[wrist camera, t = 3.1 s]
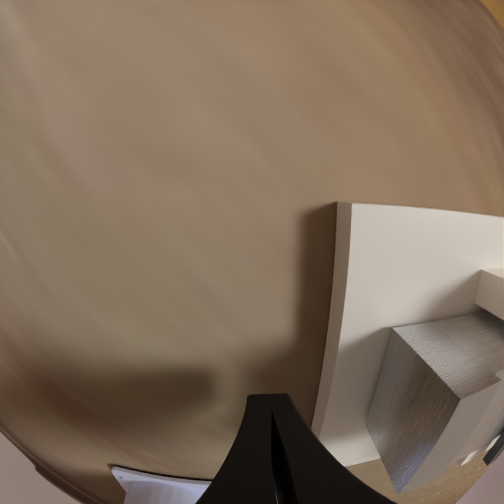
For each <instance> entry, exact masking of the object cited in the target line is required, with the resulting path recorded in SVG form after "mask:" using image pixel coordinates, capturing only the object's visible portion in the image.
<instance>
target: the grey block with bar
mask: <svg viewBox="0 0 504 504" xmlns="http://www.w3.org/2000/svg"><path fill="white" fill-rule="evenodd" d="M365 425H366V428H367V430H368V432H369V434H370V436H371V438H372V440H373V442H374V444H375V446H376V449H377V451H378V453H379V455H380V457H381V459H382V461H383V464H384V466H385V468H386V470H387V472H388V474H389V477H390V479H391V481H392V483H393V485H394V488H395V490H396V492H397V494H398V495H400V494H402V493H405V492H408V491H410V490H413V489H415V488H418V487H420V486H422V485H425V484H427V483H429V482H431V481H434V480H436V479H438V478H439V477H440V476H441V475H442V474H443V472H444V471H445V470H446V469H447V467H448V466H449V465H450V464H452V463H454V462H456V461H458V460H460V459H462V458H464V457H466V456H467V455H469V454H471V453H473V452H474V451H476V450H478V449H479V448H481V447H483V446H484V445H486V444H487V443H489V442H490V441H492V440H494V439H495V438H497V437H498V436H499V435H500V436H499V438H498V439H497V441H496V442H495V444H494V445H493V446H492V448H491V449H490V450H489V452H488V453H487V454H486V455H485V457H484V458H483V460H484V462H485V463H486V465H489V464H490V463H492V462H493V461H495V460H496V459H497V458H498V456H499V455H500V454H501V453H502V451H503V450H504V320H502V319H501V318H499V317H497V316H496V315H494V314H492V313H491V312H489V311H483V312H479V313H475V314H470V315H465V316H460V317H455V318H450V319H445V320H439V321H433V322H428V323H421V324H415V325H408V326H401V327H394V328H392V330H391V335H390V339H389V344H388V348H387V352H386V356H385V360H384V363H383V367H382V371H381V374H380V378H379V381H378V384H377V388H376V391H375V394H374V397H373V400H372V403H371V406H370V409H369V412H368V415H367V418H366V420H365Z"/></svg>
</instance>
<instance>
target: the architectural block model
mask: <svg viewBox="0 0 504 504" xmlns="http://www.w3.org/2000/svg"><path fill="white" fill-rule="evenodd" d="M483 311H489V312H491V313H492V314H494V315H496V316H497V317H499V318H501V319H502V320H504V217H501V216H494V215H487V214H480V213H472V212H464V211H455V210H447V209H437V208H427V207H416V206H404V205H391V204H377V203H360V202H341V201H337V222H336V243H335V259H334V272H333V284H332V295H331V305H330V314H329V323H328V331H327V339H326V346H325V353H324V360H323V367H322V373H321V379H320V385H319V391H318V396H317V401H316V407H315V412H314V417H313V422H312V426H311V430H312V432H313V433H314V434H315V435H316V437H317V438H318V439H319V441H320V442H321V443H322V444H323V445H324V446H325V448H326V449H327V450H328V451H329V452H330V453H331V454H332V455H333V456H334V457H335V458H336V459H337V460H338V461H339V462H340V463H341V464H342V465H343V466H344V467H345V466H349V465H354V464H358V463H363V462H367V461H371V460H375V459H378V458H381V457H380V455H379V453H378V451H377V449H376V446H375V444H374V442H373V440H372V438H371V436H370V434H369V432H368V430H367V428H366V425H365V420H366V418H367V415H368V412H369V409H370V406H371V403H372V400H373V397H374V394H375V391H376V388H377V384H378V381H379V378H380V374H381V371H382V367H383V363H384V360H385V356H386V352H387V348H388V344H389V339H390V335H391V330H392V328H394V327H401V326H408V325H415V324H421V323H428V322H433V321H439V320H445V319H450V318H455V317H460V316H465V315H470V314H475V313H479V312H483ZM499 436H500V435H499ZM499 436H498V437H497V438H495V439H494V440H492V441H490V442H489V443H487V444H486V445H484V446H483V447H481V448H479V449H478V450H476V451H474V452H473V453H471V454H469V455H467V456H466V457H464V458H462V459H460V460H458V461H457V463H458V464H459V466H461V465H463V464H465V463H467V462H468V461H470V460H472V459H474V458H475V457H477V456H478V455H480V454H482V453H483V452H485V451H486V450H488V449H489V448H491V447H492V446H493V445H494V444H495V442H496V441H497V439H498V438H499Z"/></svg>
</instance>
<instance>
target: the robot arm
mask: <svg viewBox="0 0 504 504" xmlns="http://www.w3.org/2000/svg"><path fill="white" fill-rule="evenodd" d="M111 472H112V473H113V475H114V476H115V478H116V479H117V481H118V482H119V483H120V485H121V486H122V488H123V489H124V490H125V492H126V496H125V499H124V503H123V504H277V501H278V504H397V503H395V502H393V501H391V500H389V499H388V498H386V497H385V496H383V495H381V494H380V493H378V492H377V491H375V490H374V489H372V488H370V487H369V486H367V485H366V484H365V483H363V482H362V481H361V480H360V479H358V478H357V477H356V476H354V475H353V474H352V473H351V472H350V471H349V470H347V469H346V468H345V467H344V466H343V465H342V464H341V463H340V462H339V461H338V460H337V459H336V458H335V457H334V456H333V455H332V454H331V453H330V452H329V451H328V450H327V449H326V448H325V446H324V445H323V444H322V443H321V442H320V441H319V439H318V438H317V437H316V435H315V434H314V433H313V432H312V430H311V429H310V428H309V426H308V425H307V424H306V422H305V421H304V419H303V418H302V416H301V415H300V413H299V412H298V410H297V408H296V407H295V405H294V403H293V401H292V399H291V397H290V395H288V394H287V393H282V394H256V395H249V396H248V397H247V404H246V409H245V413H244V417H243V420H242V423H241V426H240V428H239V431H238V434H237V436H236V439H235V441H234V443H233V445H232V447H231V449H230V451H229V453H228V455H227V457H226V459H225V461H224V463H223V465H222V466H221V468H220V470H219V471H218V473H217V474H216V476H215V478H214V479H213V481H198V480H188V479H179V478H172V477H165V476H158V475H153V474H147V473H142V472H137V471H133V470H128V469H124V468H120V467H115V466H114V467H112V469H111ZM274 486H275V487H274ZM275 491H276V494H275ZM276 496H277V500H276Z"/></svg>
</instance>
